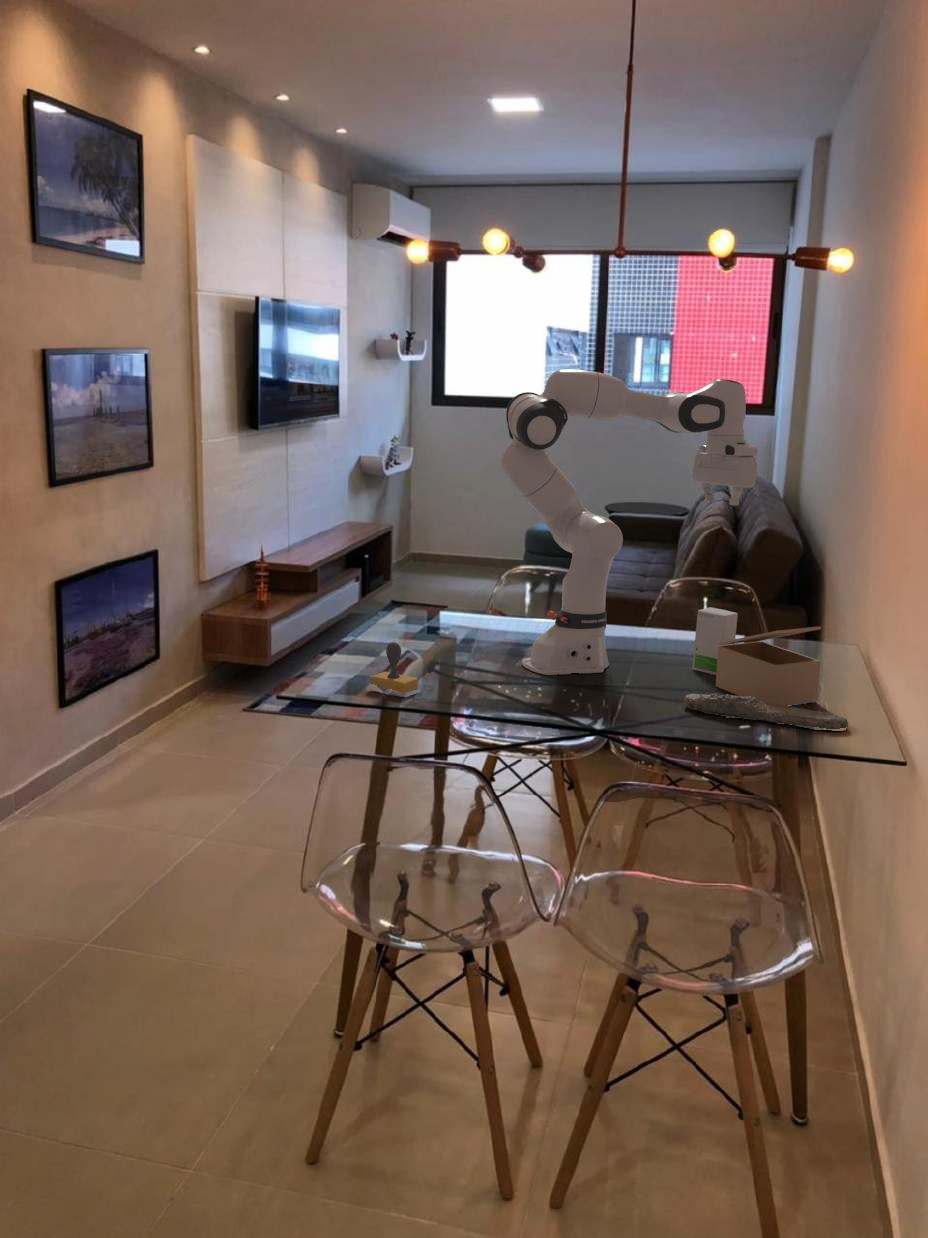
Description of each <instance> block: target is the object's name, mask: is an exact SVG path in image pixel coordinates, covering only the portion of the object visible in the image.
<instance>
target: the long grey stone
mask: <svg viewBox="0 0 928 1238" xmlns="http://www.w3.org/2000/svg"><path fill="white" fill-rule="evenodd" d="M682 703H683V704H684V706H686V707H687V708H688V709H689V708H690V709H689V710H693V711H697V710H698V711H697V712H700V711H701V713H703V712H704V714H707V713H709V714H718V715H725V716H735V717H742V718H747V719H755V720H762V721H766V722H769V723H771V722H772V723H784V724H792V725H803V726H811V727H819V728H826V729H840V728H846V727H848V728H849V721H848V719H847V718H845V717H843V716H839V715H837V714H834V713H831V712H825V711H821V710H820V711H819V710H817V711H816V710H811V709H805V708H802V707H796V706H791V707H788V706H780V705H774V704H771V703H768V702H764V701H760V700H757V699H756V698H755V697H752V696H746V697H743V696H738V695H732V694H722V695H721V694H720V693H712V694H699V693H689V694H686V695H685V696H684V699H683V702H682ZM709 714H708V715H709ZM762 721H761V722H762Z"/></svg>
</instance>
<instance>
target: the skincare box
mask: <svg viewBox="0 0 928 1238" xmlns="http://www.w3.org/2000/svg"><path fill="white" fill-rule="evenodd" d="M738 615H739V613H738V612H734V611H730V610H726V609H721V608H717V607H711V606H709V607H706V608H701V609H698V610H697V616H696V617H697V618H696V625H695V627H696V628H695V637H694V646H693V647H694V648H693V658H692V667H691V668H692V670H694V671H697V672H698V671H699V672H702V673H706V674H710V675H715V676H716V673H717V659H718V646H722V645H719V644H718V643H719V642H724V641H729V640H734V639H736V635H737V625H738ZM734 644H736V643H734ZM724 645H732V644H724Z"/></svg>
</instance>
